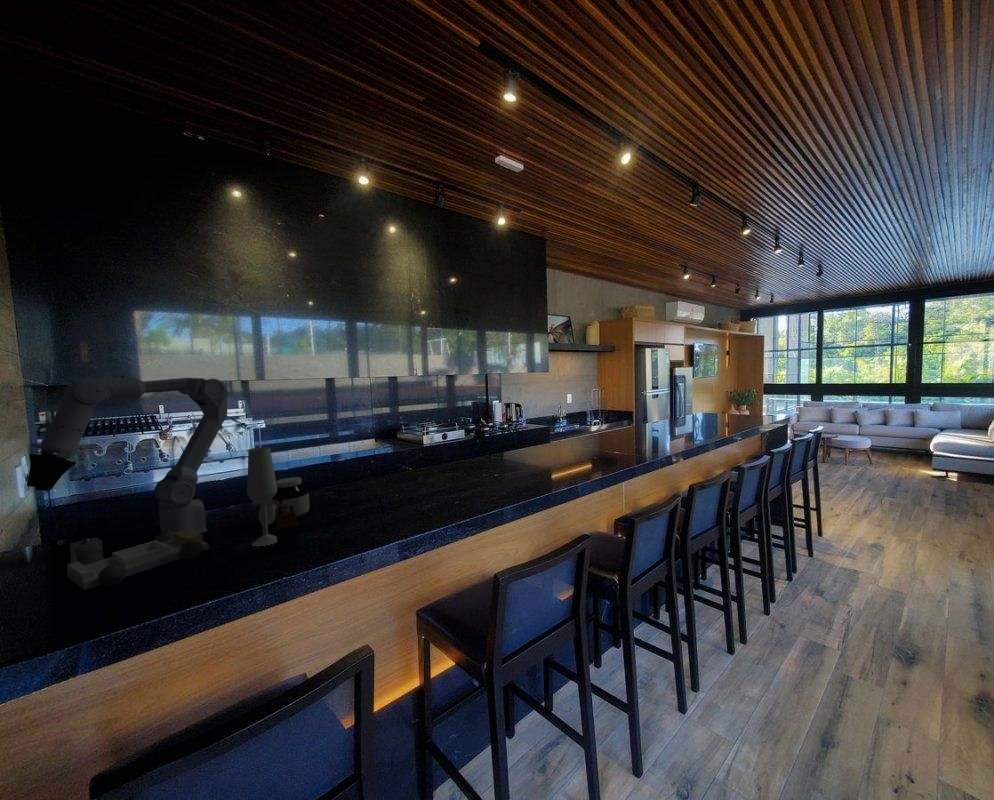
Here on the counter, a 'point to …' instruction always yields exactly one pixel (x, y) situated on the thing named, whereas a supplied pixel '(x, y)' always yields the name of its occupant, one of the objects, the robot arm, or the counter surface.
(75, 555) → the engine block
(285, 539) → the battery
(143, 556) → the car chassis
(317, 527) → the counter surface
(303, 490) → the spread jar
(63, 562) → the counter surface
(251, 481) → the champagne flute
